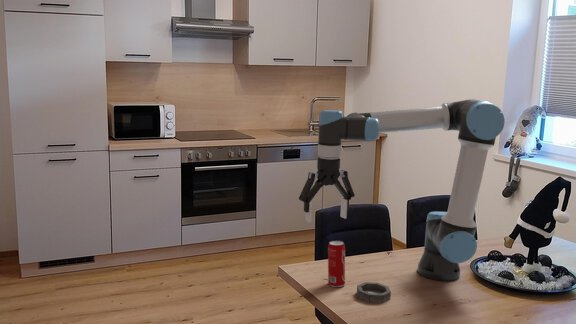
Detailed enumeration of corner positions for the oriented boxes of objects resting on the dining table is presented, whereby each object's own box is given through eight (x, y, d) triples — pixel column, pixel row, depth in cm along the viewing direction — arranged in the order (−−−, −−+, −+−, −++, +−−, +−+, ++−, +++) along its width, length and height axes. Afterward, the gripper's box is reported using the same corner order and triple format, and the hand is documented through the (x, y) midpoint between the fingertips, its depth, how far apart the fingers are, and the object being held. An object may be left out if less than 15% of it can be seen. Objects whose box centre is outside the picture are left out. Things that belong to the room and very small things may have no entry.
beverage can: (344, 288, 189) (346, 246, 186) (324, 286, 190) (327, 244, 187) (345, 282, 195) (348, 240, 192) (327, 280, 196) (329, 239, 193)
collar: (385, 289, 189) (386, 282, 189) (392, 303, 179) (392, 295, 179) (355, 289, 189) (355, 282, 189) (359, 302, 179) (360, 294, 178)
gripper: (354, 153, 193) (351, 213, 197) (290, 157, 182) (287, 220, 186) (366, 157, 187) (363, 218, 191) (300, 161, 176) (298, 226, 179)
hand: (326, 219), depth 188 cm, fingers open, 13 cm apart
